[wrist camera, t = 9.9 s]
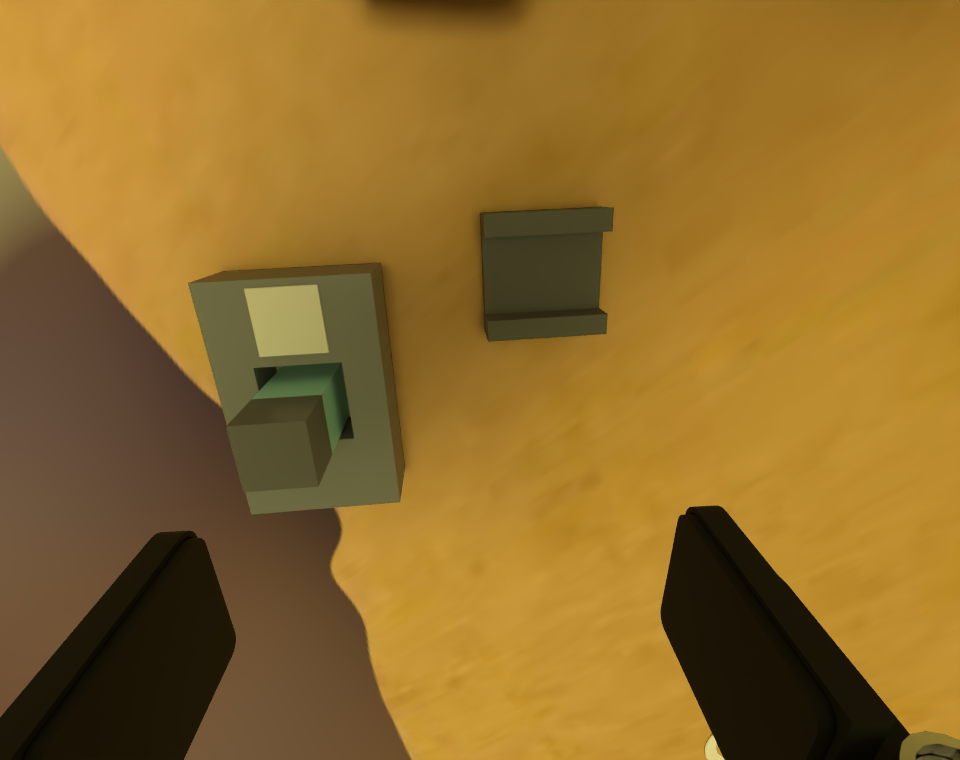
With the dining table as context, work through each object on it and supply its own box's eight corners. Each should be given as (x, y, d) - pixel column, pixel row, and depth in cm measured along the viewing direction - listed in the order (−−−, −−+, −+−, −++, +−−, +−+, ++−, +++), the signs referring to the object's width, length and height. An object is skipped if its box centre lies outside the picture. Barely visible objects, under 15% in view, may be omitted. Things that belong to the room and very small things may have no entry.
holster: (480, 212, 27) (483, 214, 24) (599, 206, 27) (613, 207, 25) (484, 330, 29) (488, 341, 27) (593, 323, 30) (606, 333, 27)
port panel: (223, 271, 27) (186, 283, 23) (380, 262, 27) (369, 273, 23) (273, 477, 32) (250, 516, 28) (404, 467, 32) (399, 504, 29)
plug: (282, 365, 28) (225, 426, 21) (341, 362, 28) (305, 421, 21) (293, 417, 29) (243, 492, 22) (349, 414, 30) (318, 486, 22)
